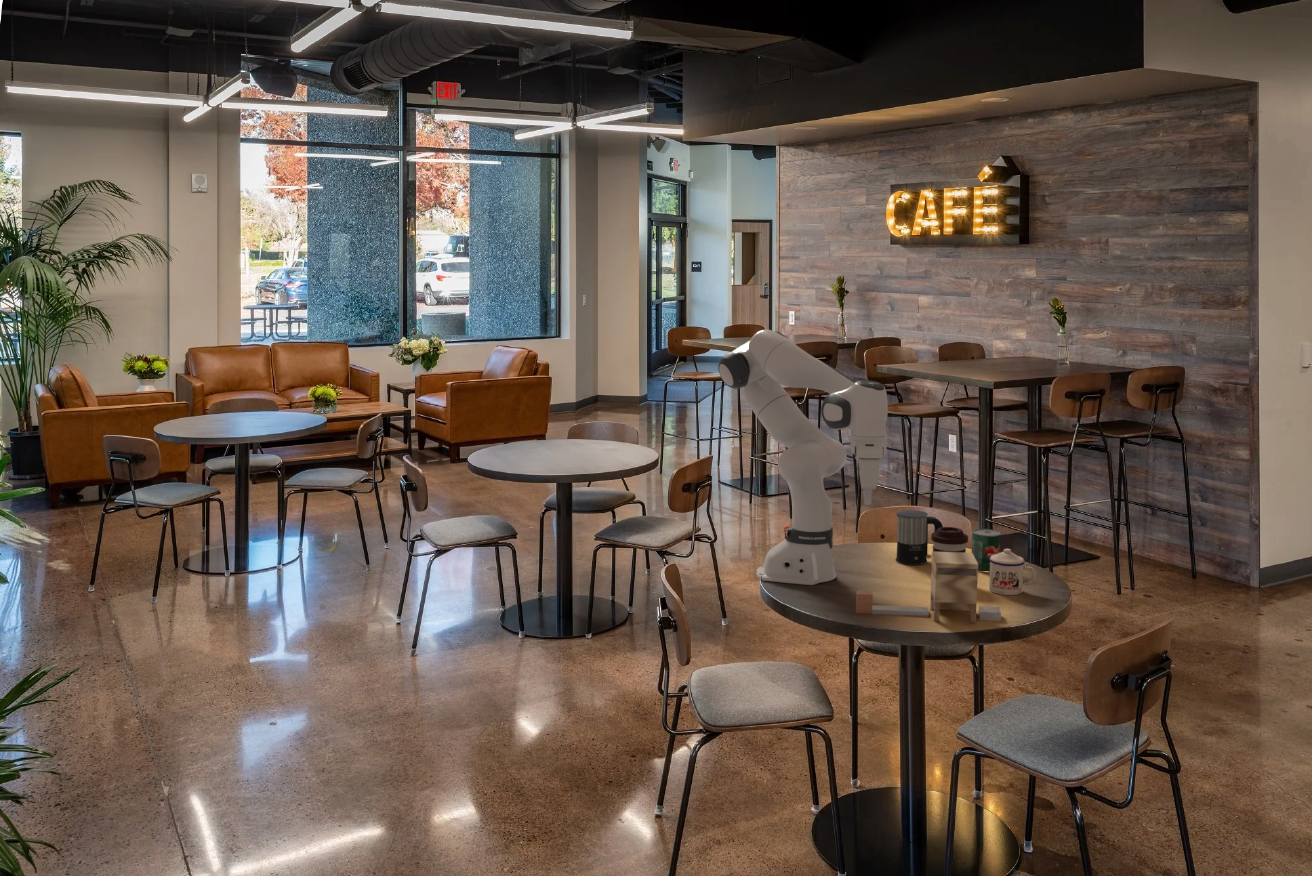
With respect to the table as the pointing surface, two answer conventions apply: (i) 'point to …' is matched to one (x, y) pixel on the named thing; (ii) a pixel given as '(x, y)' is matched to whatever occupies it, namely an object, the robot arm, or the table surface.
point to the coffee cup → (949, 540)
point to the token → (989, 613)
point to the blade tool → (884, 607)
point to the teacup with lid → (1007, 573)
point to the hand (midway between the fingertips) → (867, 500)
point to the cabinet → (954, 583)
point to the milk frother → (913, 536)
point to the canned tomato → (985, 546)
